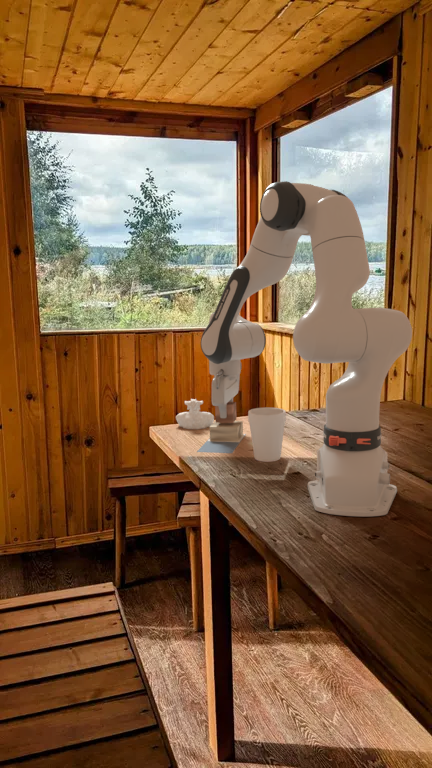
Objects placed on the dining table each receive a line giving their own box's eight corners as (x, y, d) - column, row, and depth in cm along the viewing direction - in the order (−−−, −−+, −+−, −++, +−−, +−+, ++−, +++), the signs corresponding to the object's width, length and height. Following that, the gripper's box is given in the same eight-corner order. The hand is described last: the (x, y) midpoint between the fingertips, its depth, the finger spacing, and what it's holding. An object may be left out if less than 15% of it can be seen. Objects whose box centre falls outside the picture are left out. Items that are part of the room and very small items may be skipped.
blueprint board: (232, 457, 157) (232, 453, 157) (196, 455, 159) (196, 451, 159) (246, 437, 176) (246, 433, 176) (214, 436, 178) (214, 432, 178)
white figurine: (176, 437, 187) (171, 414, 179) (178, 418, 192) (174, 395, 184) (214, 437, 186) (211, 414, 178) (215, 418, 191) (213, 394, 183)
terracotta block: (232, 422, 169) (232, 405, 168) (215, 422, 170) (215, 405, 169) (236, 419, 174) (236, 402, 173) (219, 418, 175) (219, 401, 174)
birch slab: (237, 441, 168) (237, 427, 167) (209, 440, 170) (209, 426, 169) (243, 434, 176) (242, 421, 175) (216, 433, 177) (216, 420, 177)
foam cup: (259, 454, 159) (258, 406, 156) (292, 458, 154) (291, 409, 152) (242, 464, 151) (241, 413, 148) (276, 469, 146) (275, 416, 144)
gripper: (228, 373, 158) (229, 424, 161) (242, 362, 178) (243, 408, 180) (205, 372, 160) (206, 423, 162) (221, 362, 180) (223, 407, 182)
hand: (226, 415), depth 171 cm, fingers closed on terracotta block, 5 cm apart
